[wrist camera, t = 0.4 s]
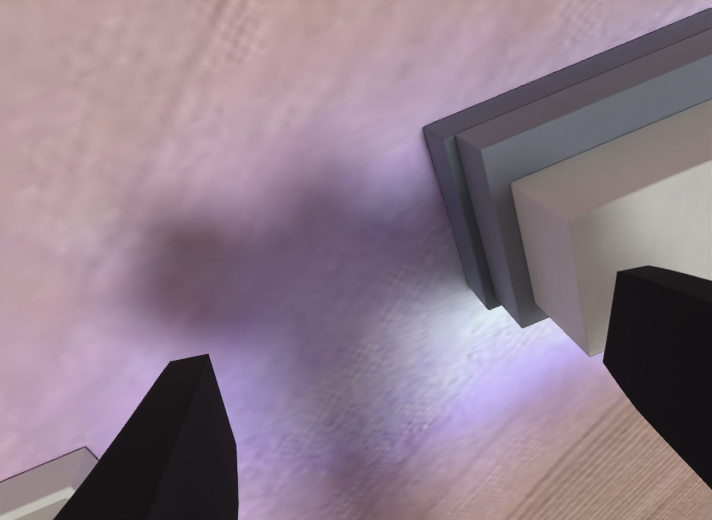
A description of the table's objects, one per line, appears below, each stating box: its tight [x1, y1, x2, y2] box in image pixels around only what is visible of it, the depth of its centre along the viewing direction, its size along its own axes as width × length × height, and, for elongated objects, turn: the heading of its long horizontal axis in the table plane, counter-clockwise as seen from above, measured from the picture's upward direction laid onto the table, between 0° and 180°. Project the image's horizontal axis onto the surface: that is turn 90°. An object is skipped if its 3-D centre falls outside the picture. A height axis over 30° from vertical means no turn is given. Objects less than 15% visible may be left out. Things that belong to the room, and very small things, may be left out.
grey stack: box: [424, 8, 712, 328], centre depth 17 cm, size 7×11×4 cm, turn 110°
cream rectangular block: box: [511, 99, 712, 357], centre depth 14 cm, size 4×9×3 cm, turn 110°
